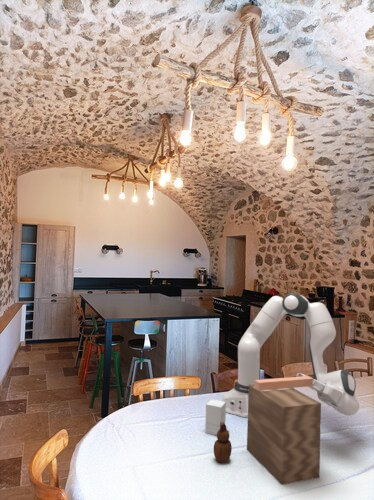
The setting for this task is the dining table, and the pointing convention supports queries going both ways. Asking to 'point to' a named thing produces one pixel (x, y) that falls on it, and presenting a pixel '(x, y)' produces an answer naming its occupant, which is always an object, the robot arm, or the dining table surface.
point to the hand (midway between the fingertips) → (305, 378)
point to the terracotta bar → (283, 383)
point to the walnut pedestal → (284, 433)
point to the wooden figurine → (222, 444)
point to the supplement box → (214, 416)
